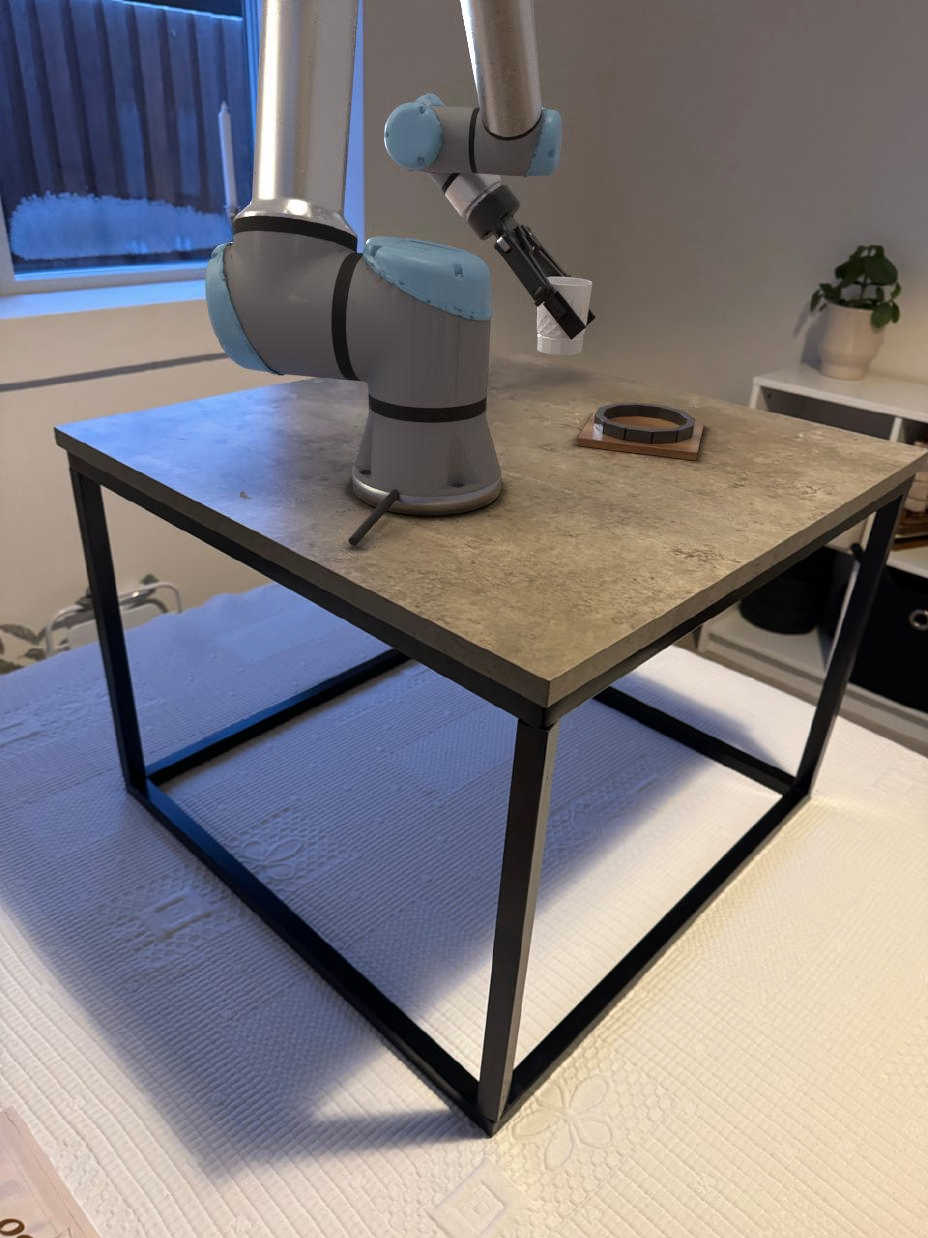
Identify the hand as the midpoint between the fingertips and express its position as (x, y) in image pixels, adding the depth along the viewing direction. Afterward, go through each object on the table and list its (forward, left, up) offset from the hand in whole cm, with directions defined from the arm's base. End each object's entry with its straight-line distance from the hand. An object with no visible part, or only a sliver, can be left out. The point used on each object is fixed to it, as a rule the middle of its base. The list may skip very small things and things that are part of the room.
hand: (583, 328), depth 127 cm
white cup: (0, +3, -4) cm, 5 cm away
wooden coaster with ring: (-25, -13, -7) cm, 29 cm away
